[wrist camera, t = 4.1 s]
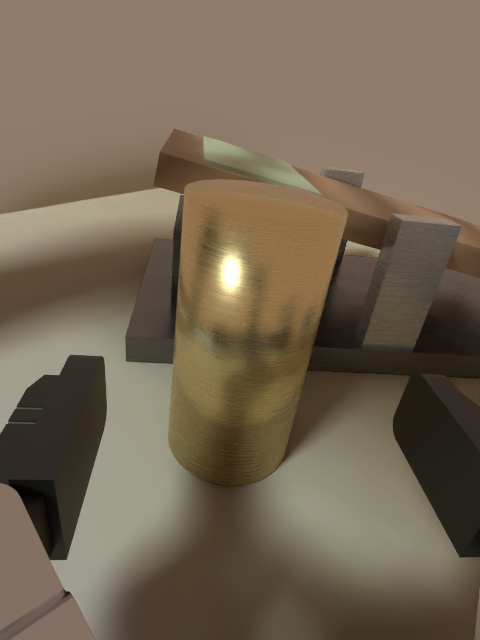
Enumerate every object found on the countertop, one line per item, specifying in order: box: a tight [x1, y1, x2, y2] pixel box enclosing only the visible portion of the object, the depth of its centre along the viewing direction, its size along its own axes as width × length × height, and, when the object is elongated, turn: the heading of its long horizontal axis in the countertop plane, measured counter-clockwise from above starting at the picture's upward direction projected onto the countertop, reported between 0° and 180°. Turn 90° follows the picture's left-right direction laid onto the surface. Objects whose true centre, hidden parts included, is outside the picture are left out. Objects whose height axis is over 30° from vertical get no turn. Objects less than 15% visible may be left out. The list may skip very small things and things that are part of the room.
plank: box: [154, 129, 480, 278], centre depth 26 cm, size 26×11×2 cm, turn 95°
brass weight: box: [168, 179, 348, 485], centre depth 15 cm, size 5×5×10 cm
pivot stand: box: [126, 166, 480, 378], centre depth 27 cm, size 28×15×8 cm, turn 95°
